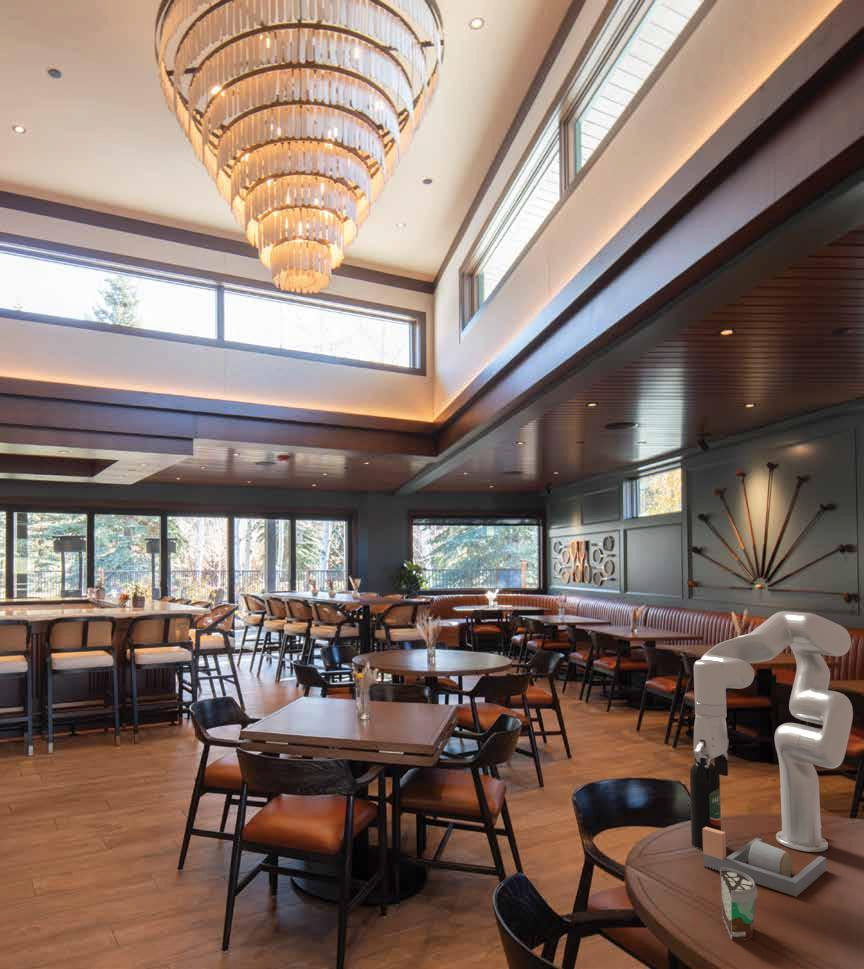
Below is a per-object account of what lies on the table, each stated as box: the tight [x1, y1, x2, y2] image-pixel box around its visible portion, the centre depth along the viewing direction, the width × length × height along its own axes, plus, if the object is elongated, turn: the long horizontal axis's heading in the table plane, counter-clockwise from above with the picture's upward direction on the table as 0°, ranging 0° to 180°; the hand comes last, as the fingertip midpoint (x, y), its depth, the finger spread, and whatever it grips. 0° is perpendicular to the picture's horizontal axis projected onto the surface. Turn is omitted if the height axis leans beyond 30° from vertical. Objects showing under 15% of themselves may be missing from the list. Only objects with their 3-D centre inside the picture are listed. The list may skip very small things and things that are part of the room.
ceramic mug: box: [748, 840, 793, 878], centre depth 174 cm, size 11×8×8 cm
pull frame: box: [702, 827, 827, 898], centre depth 178 cm, size 20×22×9 cm
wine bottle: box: [689, 753, 722, 849], centre depth 193 cm, size 8×8×30 cm
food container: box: [719, 867, 759, 941], centre depth 148 cm, size 12×6×10 cm, turn 168°
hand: (713, 778), depth 179 cm, fingers open, 9 cm apart
